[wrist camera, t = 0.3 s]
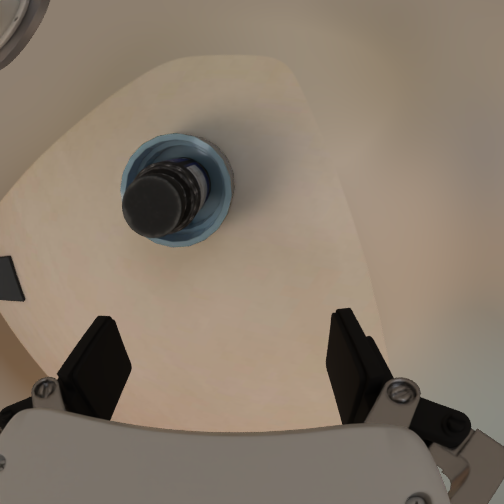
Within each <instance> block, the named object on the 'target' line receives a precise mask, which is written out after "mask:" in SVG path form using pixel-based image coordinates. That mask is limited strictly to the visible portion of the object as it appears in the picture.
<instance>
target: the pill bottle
mask: <svg viewBox="0 0 504 504" xmlns="http://www.w3.org/2000/svg"><path fill="white" fill-rule="evenodd" d="M210 190H211V181H210V177H209V175H208V172H207V170H206V169H205V168H204V167H203V166H202V165H201V164H200V163H198V162H197V161H195V160H193V159H191V158H185V157H181V158H174V159H170V160H165V161H161V162H157V163H153V164H150V165H148V166H147V167H145V168H143V169H142V170H141V171H140V172H139V173H138V174H137V176H136V177H135V179H134V180H133V182H132V183H131V184H130V185H129V186H128V188H127V189H126V191H125V193H124V196H123V201H122V211H123V215H124V218H125V220H126V222H127V223H128V225H129V226H130V227H131V229H132V230H134V231H135V232H136V233H138V234H139V235H141V236H145V237H148V238H159V237H163V236H165V235H167V234H172V233H175V232H178V231H180V230H183V229H184V228H185V227H187V226H188V225H189V223H191V222H192V220H193V219H194V218H195V216H196V214H197V213H198V212H199V210H200V209H201V207H202V206H203V205H204V203H205V202H206V200H207V199H208V196H209V194H210Z"/></svg>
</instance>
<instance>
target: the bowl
mask: <svg viewBox="0 0 504 504" xmlns="http://www.w3.org/2000/svg"><path fill="white" fill-rule="evenodd" d="M181 157H185V158H191V159H193V160H195V161H197V162H198V163H200V164H201V165H202V166H203V167H204V168H205V169H206V170H207V172H208V175H209V177H210V181H211V190H210V194H209V196H208V199H207V200H206V202H205V203H204V205H203V206H202V207H201V209H200V210H199V212H198V213H197V214H196V216H195V218H194V219H193V220H192V222H191V223H189V225H188V226H187V227H185V228H184V229H183V230H180V231H178V232H175V233H172V234H167V235H165V236H163V237H159V238H148V237H146V238H148V239H149V240H151V241H153V242H155V243H157V244H161V245H165V246H169V247H185V246H191V245H193V244H196V243H198V242H201V241H203V240H205V239H207V238H208V237H209V236H210V235H211V234H213V233H214V232H215V231H216V230H217V229H218V228H219V227H220V225H221V223H222V222H223V220H224V219H225V217H226V215H227V213H228V211H229V208H230V205H231V201H232V197H233V193H234V188H235V187H234V174H233V170H232V168H231V166H230V163H229V161H228V158H227V157H226V156H225V155H224V153H223V152H222V151H221V150H220V149H219V148H218V147H217V146H216V145H215V144H213V143H211V142H210V141H208V140H206V139H204V138H202V137H197V136H192V135H187V134H179V133H173V134H167V135H161V136H157V137H155V138H153V139H151V140H150V141H148V142H146V143H144V144H142V145H141V146H140V147H139V148H138V150H137V151H136V152H135V153H134V154H133V155H132V156H131V157H130V159H129V161H128V163H127V165H126V167H125V170H124V172H123V176H122V183H121V197H122V201H123V196H124V193H125V191H126V189H127V188H128V186H129V185H130V184H131V183H132V182H133V180H134V179H135V177H136V176H137V174H138V173H139V172H140V171H141V170H142V169H143V168H145V167H147V166H148V165H150V164H153V163H157V162H161V161H165V160H170V159H174V158H181ZM144 237H145V236H144Z"/></svg>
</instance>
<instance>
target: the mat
mask: <svg viewBox="0 0 504 504" xmlns="http://www.w3.org/2000/svg"><path fill="white" fill-rule="evenodd" d="M0 300H8V301H23V302H24V301H25V297H24V295H23V292H22V289H21V287H20V284H19V281H18V278H17V275H16V272H15V269H14V266H13V262H12V259H11V256H7V257H0Z"/></svg>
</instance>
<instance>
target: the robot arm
mask: <svg viewBox="0 0 504 504" xmlns="http://www.w3.org/2000/svg"><path fill="white" fill-rule="evenodd" d="M29 1H30V0H0V49H1V48H2V47H3V46H4V45H5V44H6V43H7V41H8V40H9V39H10V38H11V36H12V35H13V34H14V32H15V31H16V29H17V28H18V26H19V25H20V23H21V21H22V19H23V17H24V15H25V13H26V11H27V8H28V5H29ZM326 368H327V372H328V375H329V378H330V382H331V385H332V389H333V392H334V396H335V399H336V403H337V406H338V410H339V414H340V417H341V421H342V424H343V425H336V426H327V427H318V428H309V429H298V430H285V431H269V432H200V431H184V430H172V429H162V428H154V427H146V426H139V425H132V424H126V423H120V422H114V421H110V420H111V417H112V415H113V412H114V410H115V407H116V405H117V403H118V400H119V398H120V395H121V393H122V391H123V388H124V386H125V384H126V382H127V379H128V377H129V375H130V372H131V369H132V366H131V362H130V360H129V357H128V355H127V352H126V350H125V347H124V344H123V342H122V339H121V336H120V333H119V331H118V328H117V325H116V322H115V320H113V319H112V318H111V317H110V316H98V317H97V318H96V319H95V320H94V322H93V323H92V324H91V326H90V327H89V329H88V330H87V331H86V333H85V334H84V335H83V337H82V338H81V340H80V341H79V342H78V344H77V345H76V347H75V348H74V349H73V351H72V352H71V354H70V355H69V357H68V358H67V359H66V361H65V362H64V364H63V365H62V367H61V368H60V370H59V371H58V373H57V375H58V377H59V378H58V380H56V379H55V378H53V377H45V378H42V379H40V380H38V381H37V382H36V383H35V384H34V385H33V388H32V392H31V393H32V396H31V397H29V398H27V399H25V400H22V401H20V402H17V403H15V404H12V405H10V406H7V407H6V408H4V409H2V411H1V412H0V504H488V503H489V501H490V500H491V498H492V496H493V495H494V493H495V492H496V490H497V489H498V487H499V486H500V484H501V482H502V480H503V479H504V446H502V445H501V444H499V443H498V442H496V441H495V440H494V439H492V438H491V437H489V436H488V435H486V434H485V433H483V432H482V431H480V430H479V429H477V430H476V431H474V430H473V429H472V428H471V422H470V420H469V418H468V417H467V416H466V415H465V414H464V413H462V412H460V411H457V410H454V409H451V408H449V407H446V406H443V405H440V404H437V403H435V402H432V401H429V400H426V399H424V398H421V397H420V394H421V393H420V388H419V387H418V385H417V384H416V383H415V382H413V381H412V380H409V379H407V378H393V376H392V374H391V372H390V370H389V368H388V366H387V364H386V362H385V360H384V358H383V357H382V355H381V353H380V351H379V349H378V347H377V345H376V343H375V342H374V340H373V338H372V337H371V336H367V337H366V336H365V334H364V332H363V330H362V328H361V326H360V325H359V323H358V321H357V319H356V317H355V315H354V313H353V312H352V310H351V308H344V309H337V310H336V313H332V316H331V325H330V333H329V342H328V349H327V357H326ZM437 466H439V467H440V468H441V469H442V470H443V471H442V473H443V474H445V475H446V476H447V477H448V478H449V479H450V482H451V487H450V491H449V492H448V493H447V490H446V487H445V485H444V482H443V480H442V477H441V474H440V472H439V469H438V467H437ZM408 498H409V499H408Z"/></svg>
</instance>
